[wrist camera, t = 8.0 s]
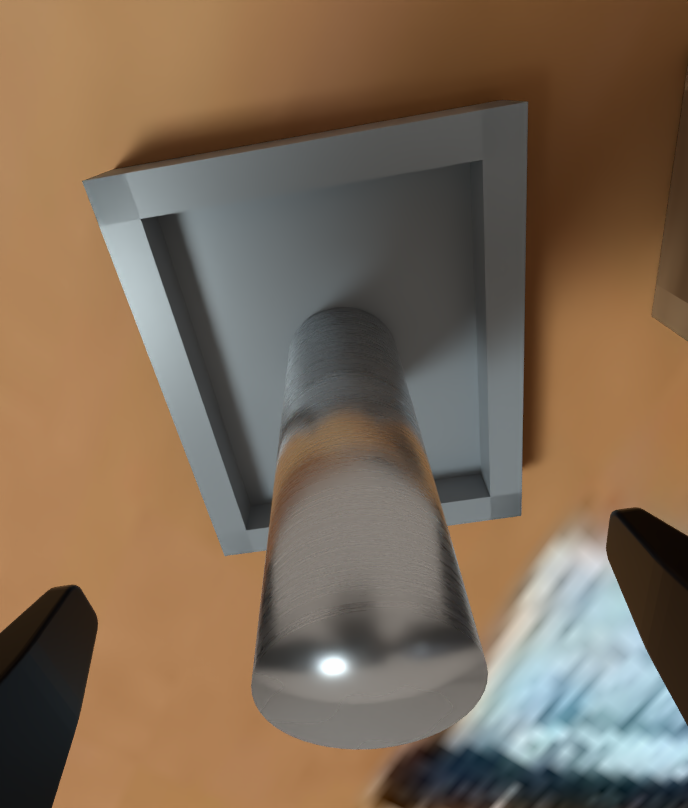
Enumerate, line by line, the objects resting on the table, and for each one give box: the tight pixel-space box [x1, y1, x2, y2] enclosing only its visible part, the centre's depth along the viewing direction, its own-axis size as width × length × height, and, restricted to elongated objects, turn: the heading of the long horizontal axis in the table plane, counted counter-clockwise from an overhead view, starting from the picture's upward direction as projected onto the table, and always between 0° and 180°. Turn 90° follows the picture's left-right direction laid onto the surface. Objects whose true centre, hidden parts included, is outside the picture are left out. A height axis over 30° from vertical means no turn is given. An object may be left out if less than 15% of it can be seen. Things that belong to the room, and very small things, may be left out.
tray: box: [82, 100, 528, 556], centre depth 16 cm, size 10×12×2 cm
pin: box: [251, 307, 488, 749], centre depth 12 cm, size 3×3×10 cm
